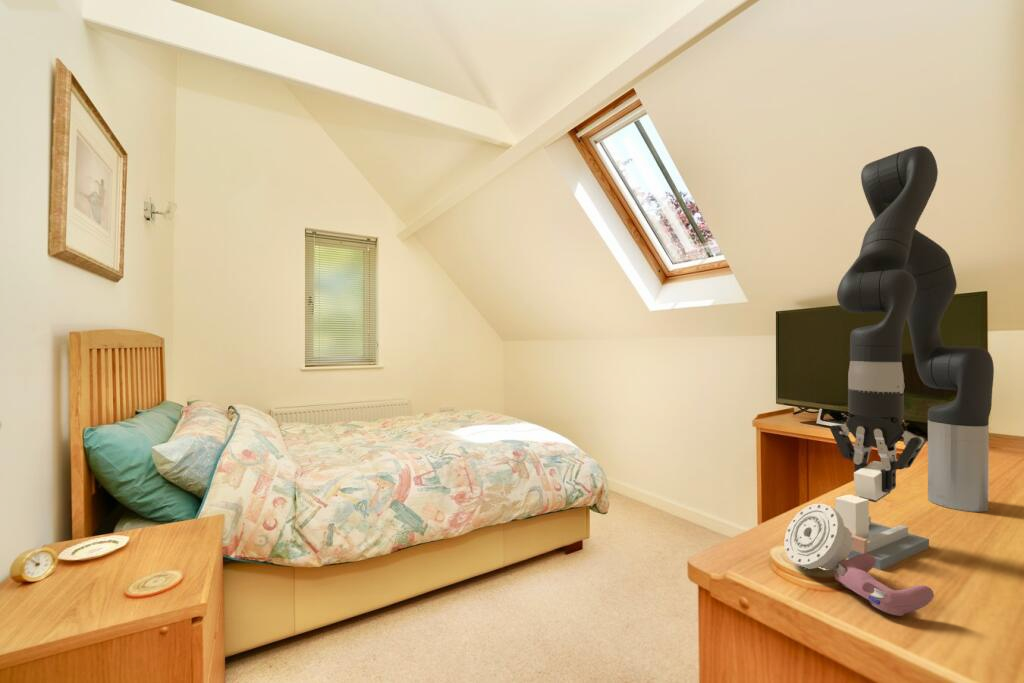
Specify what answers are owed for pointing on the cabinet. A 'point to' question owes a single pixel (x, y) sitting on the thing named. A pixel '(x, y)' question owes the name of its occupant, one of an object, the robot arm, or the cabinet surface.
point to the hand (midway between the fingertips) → (874, 488)
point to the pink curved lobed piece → (880, 587)
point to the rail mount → (876, 534)
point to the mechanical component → (818, 538)
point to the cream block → (869, 482)
